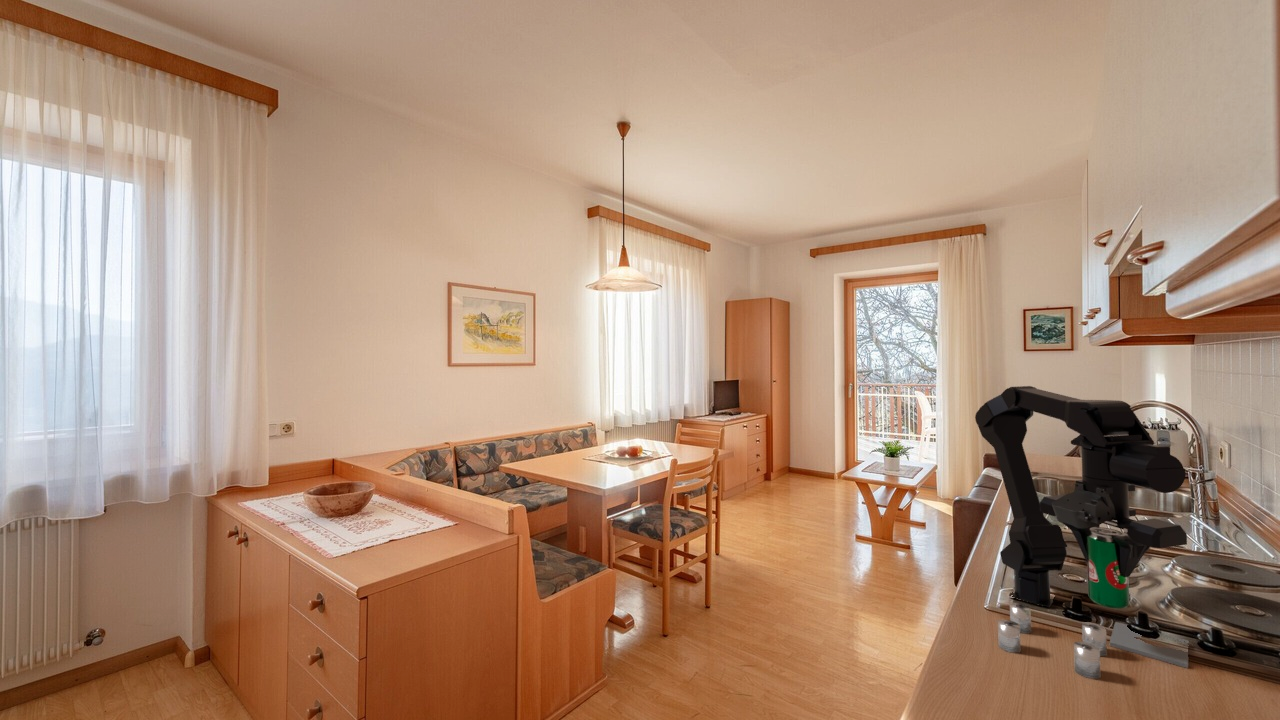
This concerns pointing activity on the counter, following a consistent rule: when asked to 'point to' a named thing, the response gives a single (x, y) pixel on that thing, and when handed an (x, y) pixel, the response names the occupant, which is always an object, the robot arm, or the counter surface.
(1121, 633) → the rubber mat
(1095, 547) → the soda can
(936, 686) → the counter surface
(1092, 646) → the spacer posts
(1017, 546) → the robot arm
